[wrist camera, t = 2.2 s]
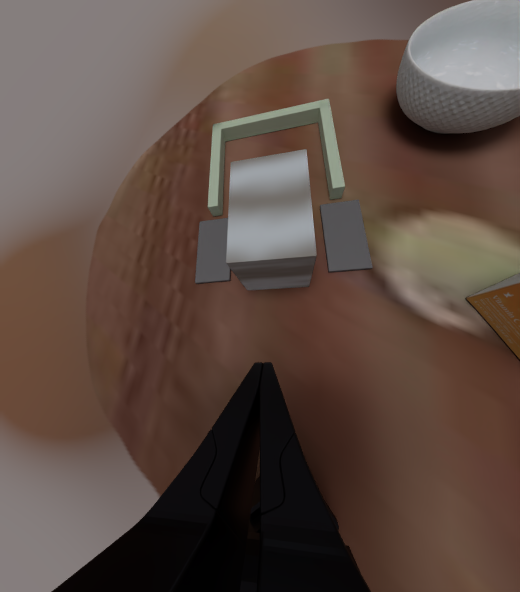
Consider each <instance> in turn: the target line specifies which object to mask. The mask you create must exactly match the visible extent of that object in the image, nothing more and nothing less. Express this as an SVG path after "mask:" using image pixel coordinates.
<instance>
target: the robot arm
mask: <svg viewBox="0 0 520 592" xmlns="http://www.w3.org/2000/svg"><path fill="white" fill-rule="evenodd" d="M259 449H260V477H259V478H258V479H257V480H256V482H255V477H256V470H257V463H258V456H259ZM338 529H339V526H338V522H337V520H336V518H335V516H334V515H333V513H332V511H331V510H330V508H329V507H328V505H327V504H326V502H325V500H324V499H323V497H322V495H321V493H320V491H319V489H318V487H317V485H316V482H315V480H314V478H313V476H312V474H311V471H310V469H309V467H308V464H307V462H306V460H305V457H304V454H303V452H302V449H301V446H300V444H299V441H298V438H297V435H296V433H295V429H294V426H293V423H292V420H291V418H290V415H289V412H288V409H287V406H286V403H285V400H284V397H283V394H282V391H281V388H280V385H279V382H278V379H277V376H276V374H275V371H274V368H273V365H272V363H271V362H265V363H254V365H253V366H252V368H251V369H250V371H249V372H248V374H247V375H246V377H245V378H244V380H243V381H242V383H241V384H240V386H239V387H238V389H237V391H236V392H235V394H234V395H233V397H232V398H231V400H230V401H229V403H228V404H227V406H226V407H225V409H224V410H223V412H222V413H221V415H220V416H219V418H218V419H217V421H216V422H215V424H214V425H213V427H212V430H210V431H209V433H208V434H207V436H206V437H205V439H204V440H203V442H202V443H201V445H200V446H199V448H198V449H197V451H196V452H195V453H194V455H193V456H192V457H191V459H190V460H189V461H188V462H187V464H186V465H185V466H184V468H183V469H182V470H181V471H180V473H179V474H178V475H177V477H176V478H175V479H174V480H173V482H172V483H171V484H170V485H169V487H168V488H167V489H166V490H165V492H164V493H163V494H162V495H161V497H160V498H159V499H158V501H157V502H156V503H155V504H154V506H153V507H152V508H151V509H150V510H149V512H147V514H146V515H145V516H144V517H143V518H142V519H141V520H140V521H139V522H138V523H137V524H136V525H135V526H133V527H132V528H131V529H130V530H129V531H127V532H126V533H125V534H124V535H122V536H121V537H120V538H119V539H118V540H116V541H115V542H114V543H112V544H111V545H110V546H109V547H107V548H106V549H105V550H104V551H103V552H101V553H100V554H99V555H97V556H96V557H95V558H94V559H92V560H91V561H90V562H88V563H87V564H86V565H85V566H84V567H82V568H81V569H80V570H78V571H77V572H76V573H75V574H73V575H72V576H71V577H70V578H68V579H67V580H66V581H65V582H63V583H62V584H61V585H60V586H58V587H57V588H56V589H54V590H53V591H52V592H371V591H370V589H369V587H368V586H367V584H366V582H365V580H364V579H363V577H362V575H361V573H360V571H359V568H358V566H357V564H356V561H355V559H354V557H353V554H352V552H351V550H350V547H349V546H346V545H345V544H344V542H343V540H342V538H341V536H340V534H339V532H338Z"/></svg>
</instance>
